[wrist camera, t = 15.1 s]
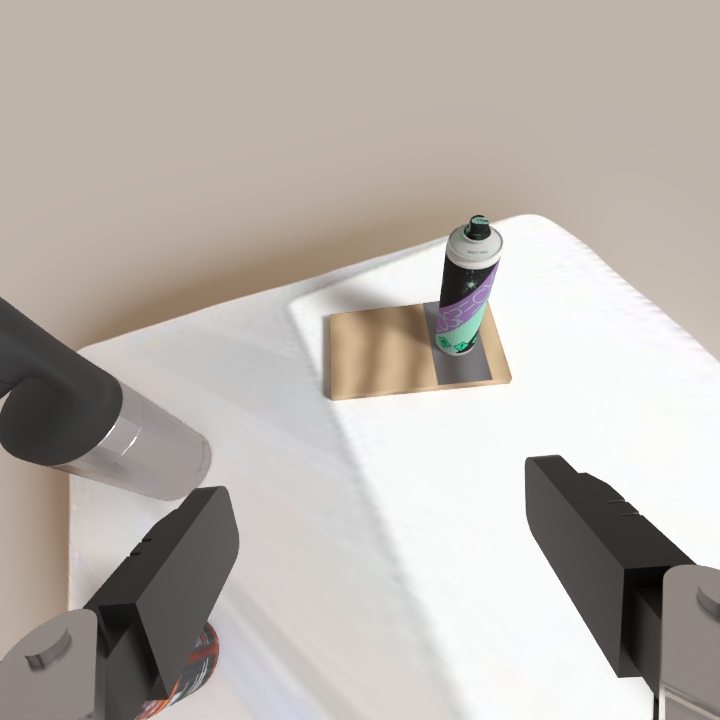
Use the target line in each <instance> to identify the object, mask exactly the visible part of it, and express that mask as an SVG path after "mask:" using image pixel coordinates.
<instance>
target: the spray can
mask: <svg viewBox="0 0 720 720" xmlns="http://www.w3.org/2000/svg"><path fill="white" fill-rule="evenodd" d="M502 246H503V238H502V236H501V234H500V233H499V232H498V231H497V230H496V229H494V228H492V227H491V226H489V222H488V220H487V219H486V218H485V217H484V216H482V215H476V216H474V217H472V218H471V220H470V223H469V224H465V225H462V226H460V227H458V228H456V229H455V230H454V231H452V233H451V234H450V236H449V239H448V242H447V246H446V254H445V262H444V270H443V279H442V287H441V295H440V304H439V312H438V320H437V329H436V344H437V346H438V347H439V349H440V350H441V351H443V352H444V353H446V354H449V355H453V356H460V355H464V354H466V353H468V352H470V351H471V350H472V348H473V347H474V344H475V342H476V338H477V335H478V332H479V328H480V325H481V321H482V318H483V315H484V311H485V308H486V305H487V301H488V298H489V294H490V291H491V288H492V284H493V281H494V278H495V274H496V271H497V267H498V264H499V261H500V257H501V254H502Z"/></svg>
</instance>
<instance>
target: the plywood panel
mask: <svg viewBox="0 0 720 720" xmlns="http://www.w3.org/2000/svg"><path fill="white" fill-rule="evenodd" d="M439 304H440V301H438V302H430V303H423V304H417V305H408V306H399V307H391V308H382V309H374V310H365V311H357V312H348V313H340V314H331V315H330V366H331V398H332V400H333V401H336V400H346V399H356V398H366V397H376V396H386V395H396V394H406V393H416V392H426V391H436V390H446V389H456V388H466V387H476V386H486V385H496V384H506V383H510V381H511V379H512V376H511V373H510V370H509V367H508V363H507V360H506V357H505V354H504V350H503V347H502V344H501V341H500V338H499V334H498V331H497V328H496V325H495V322H494V318H493V315H492V312H491V309H490V306H489V302H488V301H487V305H486V308H485V311H484V315H483V318H482V321H481V325H480V328H479V332H478V335H477V338H476V342H475V344H474V347H473V348H472V350H471V351H470V352H468V353H466V354H464V355H460V356H453V355H449V354H446V353H444V352H443V351H441V350H440V349H439V347H438V346H437V344H436V329H437V320H438V312H439Z"/></svg>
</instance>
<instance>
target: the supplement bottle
mask: <svg viewBox="0 0 720 720" xmlns="http://www.w3.org/2000/svg"><path fill="white" fill-rule="evenodd" d="M218 654H219V643H218V637H217V635H216V632H215V631H214V629H213V628H212V627H211V626H210V625H209V624H208V623H207V622H206V624H205V626H204V628H203V630H202V632H201V634H200V636H199V638H198V640H197V642H196V644H195V647H194V649H193V651H192V653H191V655H190V657H189V659H188V661H187V663H186V665H185V668H184V670H183V672H182V674H181V676H180V678H179V680H178V682H177V684H176V686H175V688H174V691H173V693H172V695H171V697H170V699H169V700H153V701H145V702H144V703H143V705H142V707H141V709H140V711H139V713H138V715H137V717H136V720H146V719H148V718H150V717H151V716H153V715H155V714H157V713H159V712H160V711H162V710H164V709H166V708H167V707H169V706H171V705H173V704H174V703H176V702H178V701H179V700H181V699H183V698H185V697H186V696H188V695H190V694H192V693H193V692H195V691H196V690H198V689H199V688H200V687H202V686H203V685H204V684H205V683H206V682H207V680H208V679H209V678H210V676H211V675H212V673H213V671H214V669H215V666H216V664H217V660H218Z"/></svg>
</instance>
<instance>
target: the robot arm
mask: <svg viewBox="0 0 720 720" xmlns="http://www.w3.org/2000/svg"><path fill="white" fill-rule="evenodd" d="M10 391H11V392H10ZM8 392H10V394H9V396H8V398H7V399H6V401H5V403H4V405H3V408H2V410H1V413H0V443H1V445H2V446H3V448H4V449H5V450H6V451H7V452H9V453H10V454H12V455H13V456H15V457H17V458H19V459H22V460H25V461H28V462H32V463H35V464H39V465H43V466H46V467H50V468H53V469H57V470H60V471H64V472H67V473H70V474H75V475H78V476H81V477H85V478H88V479H92V480H95V481H98V482H102V483H105V484H109V485H112V486H115V487H119V488H122V489H126V490H129V491H132V492H136V493H139V494H142V495H145V496H149V497H152V498H156V499H159V500H165V501H168V500H175V499H179V498H181V497H183V496H185V495H187V494H189V493H190V492H191V491H192V492H191V493H190V494H189V495H188V497H187V498H186V499H185V500H184V501H183V503H182V504H181V505H180V506H179V508H178V509H175V510H173V511H172V512H171V513H169V514H168V515H167V516H165V517H164V518H163V519H161V520H160V521H159V522H157V523H156V524H155V525H154V526H153V527H152V528H151V530H150V531H149V532H148V533H147V534H146V535H145V537H144V538H143V539H142V542H141V543H139V544H138V545H137V546H136V547H135V548H134V549H133V550H132V552H131V553H130V557H126V559H125V560H124V561H123V562H122V563H121V564H120V566H119V567H118V568H117V569H116V570H115V571H114V572H113V574H112V575H111V576H110V577H109V578H108V579H107V581H106V582H105V583H104V584H103V585H102V586H101V588H100V589H99V590H98V591H97V592H96V593H95V595H94V596H93V597H92V598H91V599H90V600H89V601H88V603H87V604H86V605H85V606H84V607H83V608H82V609H78V610H73V611H69V612H66V613H63V614H61V615H59V616H57V617H54V618H52V619H50V620H48V621H47V622H45V623H43V624H42V625H40V626H39V627H37V628H35V629H34V630H33V631H31V632H30V633H29V634H27V635H26V636H25V637H24V638H22V639H21V640H20V641H19V642H18V643H17V644H16V645H15V646H14V647H13V648H12V649H11V650H10V651H9V652H8V653H7V654H6V656H5V657H4V658H3V659H2V661H0V720H136V717H137V715H138V713H139V711H140V709H141V707H142V705H143V703H144V702H145V701H153V700H169V699H170V697H171V695H172V693H173V691H174V688H175V686H176V684H177V682H178V680H179V678H180V676H181V674H182V672H183V670H184V668H185V665H186V663H187V661H188V659H189V657H190V655H191V653H192V651H193V649H194V647H195V644H196V642H197V640H198V638H199V636H200V634H201V632H202V630H203V628H204V626H205V624H206V621H207V619H208V617H209V615H210V613H211V611H212V609H213V607H214V605H215V603H216V601H217V598H218V596H219V594H220V592H221V590H222V588H223V586H224V584H225V582H226V580H227V577H228V575H229V573H230V571H231V569H232V567H233V565H234V563H235V561H236V558H237V555H238V550H239V533H238V529H237V525H236V521H235V517H234V513H233V509H232V504H231V500H230V496H229V493H228V490H227V489H226V487H224V486H216V487H205V488H196V487H197V486H198V485H199V484H200V483H201V481H202V480H203V478H204V477H205V475H206V473H207V471H208V469H209V466H210V462H211V450H210V446H209V443H208V441H207V440H206V439H205V437H204V436H202V435H201V434H199V433H198V432H196V431H195V430H193V429H192V428H190V427H189V426H188V425H186V424H185V423H183V422H182V421H180V420H179V419H177V418H176V417H174V416H173V415H171V414H170V413H168V412H167V411H165V410H164V409H162V408H161V407H159V406H157V405H156V404H154V403H153V402H151V401H150V400H148V399H147V398H145V397H144V396H142V395H141V394H139V393H138V392H136V391H135V390H133V389H132V388H130V387H129V386H127V385H126V384H124V383H122V382H121V381H119V380H118V379H116V378H115V377H113V376H112V375H110V374H109V373H107V372H106V371H104V370H102V369H101V368H99V367H98V366H96V365H95V364H93V363H91V362H90V361H88V360H87V359H85V358H84V357H82V356H81V355H79V354H77V353H76V352H74V351H73V350H71V349H70V348H68V347H67V346H66V345H64V344H63V343H61V342H60V341H58V340H57V339H56V338H54V337H53V336H51V335H50V334H49V333H48V332H46V331H45V330H44V329H42V328H41V327H40V326H38V325H37V324H36V323H34V322H33V321H31V320H30V319H29V318H27V317H26V316H25V315H24V314H22V313H21V312H20V311H18V310H17V309H15V307H13V306H12V305H11V304H9V303H8V302H7V301H5V300H4V299H2V298H1V297H0V399H1V398H2V397H4V396H5V395H6V394H7V393H8ZM195 488H196V489H195ZM525 499H526V516H527V520H528V524H529V527H530V530H531V533H532V535H533V537H534V538H535V540H536V542H537V543H538V545H539V547H540V548H541V550H542V552H543V553H544V555H545V557H546V558H547V560H548V562H549V563H550V565H551V567H552V568H553V570H554V572H555V573H556V575H557V577H558V578H559V580H560V582H561V583H562V585H563V587H564V588H565V590H566V592H567V593H568V595H569V597H570V598H571V600H572V602H573V603H574V605H575V607H576V608H577V610H578V612H579V613H580V615H581V617H582V618H583V620H584V622H585V623H586V625H587V627H588V628H589V630H590V632H591V633H592V635H593V637H594V638H595V640H596V642H597V643H598V645H599V647H600V648H601V650H602V652H603V653H604V655H605V657H606V658H607V660H608V662H609V663H610V665H611V667H612V668H613V670H614V672H615V673H616V675H617V677H618V678H624V677H643V678H644V680H645V681H646V683H647V684H648V686H649V687H650V689H651V690H652V692H653V701H652V720H720V570H718V569H714V568H711V567H706V566H700V565H697V564H696V563H694V562H693V561H692V560H691V559H690V558H689V557H688V556H687V555H686V554H685V553H684V552H682V551H681V550H680V549H679V548H678V547H677V546H676V545H675V544H674V543H673V542H671V541H670V540H669V539H668V538H667V537H666V536H665V535H664V534H663V533H662V532H660V531H659V530H658V529H657V528H656V527H655V526H654V525H653V524H652V523H651V522H649V521H648V520H647V519H646V518H645V517H644V516H643V515H640V514H639V512H638V511H637V510H636V509H635V508H634V507H633V506H632V505H631V504H630V503H629V502H625V499H624V498H623V497H622V496H621V495H620V494H619V493H618V492H616V491H615V490H614V489H613V488H612V487H611V486H610V485H609V484H607V483H605V482H603V481H601V480H599V479H597V478H596V477H594V476H592V475H590V474H588V473H578V472H577V471H576V470H575V469H574V468H573V467H572V466H570V465H569V464H568V463H567V462H566V461H565V460H564V459H563V458H562V457H561V456H560V455H548V456H537V457H528V458H527V459H526V461H525Z"/></svg>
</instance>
